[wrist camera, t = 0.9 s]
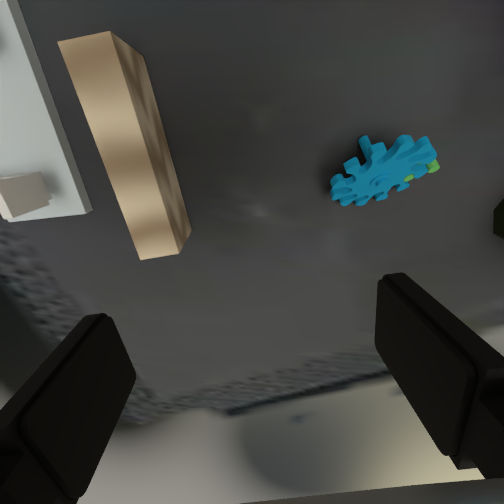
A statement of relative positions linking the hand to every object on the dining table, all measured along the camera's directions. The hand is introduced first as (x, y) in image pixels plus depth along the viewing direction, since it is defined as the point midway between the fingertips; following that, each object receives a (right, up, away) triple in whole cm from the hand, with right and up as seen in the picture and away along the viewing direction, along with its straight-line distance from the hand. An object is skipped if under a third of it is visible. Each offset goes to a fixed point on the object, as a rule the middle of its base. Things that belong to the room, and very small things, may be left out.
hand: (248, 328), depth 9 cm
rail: (-11, +13, +20) cm, 26 cm away
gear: (+13, +12, +21) cm, 28 cm away
